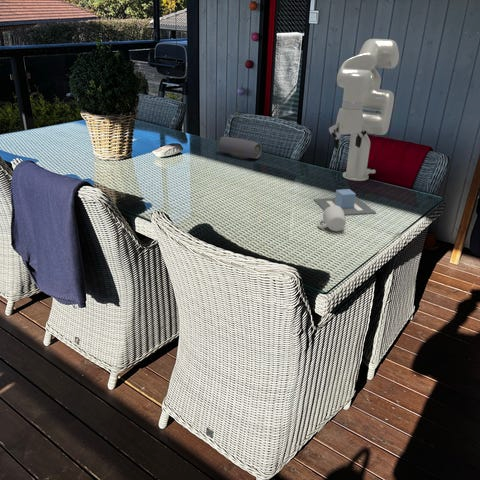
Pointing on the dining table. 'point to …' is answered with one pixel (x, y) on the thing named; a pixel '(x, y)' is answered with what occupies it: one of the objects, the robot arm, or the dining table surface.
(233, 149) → the bluetooth speaker
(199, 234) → the dining table surface
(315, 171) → the dining table surface
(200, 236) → the dining table surface
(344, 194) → the cube
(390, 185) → the dining table surface
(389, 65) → the robot arm
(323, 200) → the letter mat
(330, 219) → the cup
